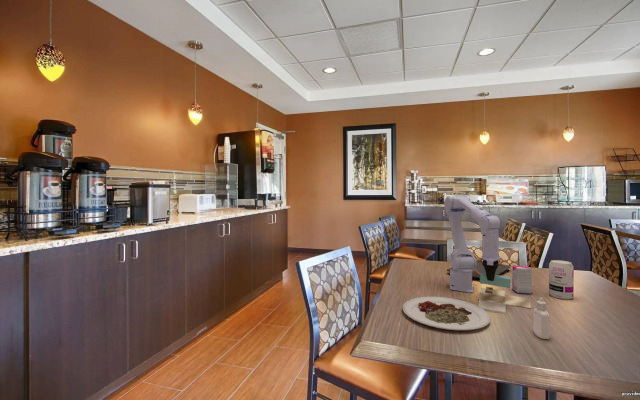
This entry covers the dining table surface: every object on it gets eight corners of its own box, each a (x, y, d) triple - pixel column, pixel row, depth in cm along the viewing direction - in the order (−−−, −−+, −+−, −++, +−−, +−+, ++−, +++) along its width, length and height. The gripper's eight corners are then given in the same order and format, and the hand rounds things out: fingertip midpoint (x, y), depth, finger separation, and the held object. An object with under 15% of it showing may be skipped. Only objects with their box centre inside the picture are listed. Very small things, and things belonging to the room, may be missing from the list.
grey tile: (478, 309, 116) (478, 307, 116) (479, 301, 123) (479, 300, 123) (505, 313, 111) (505, 312, 111) (505, 305, 119) (505, 304, 119)
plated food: (491, 343, 91) (491, 332, 90) (393, 323, 105) (393, 313, 105) (490, 308, 117) (490, 300, 117) (412, 296, 131) (411, 289, 131)
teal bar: (479, 283, 120) (480, 274, 120) (480, 280, 124) (480, 272, 123) (510, 288, 115) (510, 279, 115) (509, 285, 118) (510, 277, 118)
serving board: (488, 285, 146) (488, 272, 146) (443, 275, 164) (442, 264, 163) (513, 270, 172) (513, 259, 172) (471, 263, 189) (471, 254, 189)
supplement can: (569, 294, 130) (569, 260, 129) (576, 301, 122) (576, 265, 122) (546, 292, 133) (546, 259, 133) (552, 298, 125) (552, 263, 125)
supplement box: (532, 294, 131) (532, 268, 130) (517, 293, 132) (517, 268, 131) (526, 290, 136) (526, 265, 136) (511, 289, 137) (511, 265, 137)
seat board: (478, 300, 124) (478, 291, 124) (480, 292, 135) (480, 283, 135) (531, 308, 115) (531, 299, 115) (528, 299, 125) (528, 290, 125)
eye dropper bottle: (531, 336, 93) (531, 298, 93) (533, 330, 98) (533, 294, 97) (549, 341, 91) (549, 302, 90) (550, 334, 95) (550, 297, 94)
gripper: (502, 249, 111) (502, 285, 112) (501, 243, 124) (501, 276, 124) (480, 248, 115) (481, 282, 115) (482, 242, 127) (482, 273, 128)
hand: (490, 279), depth 120 cm, fingers closed on teal bar, 4 cm apart
